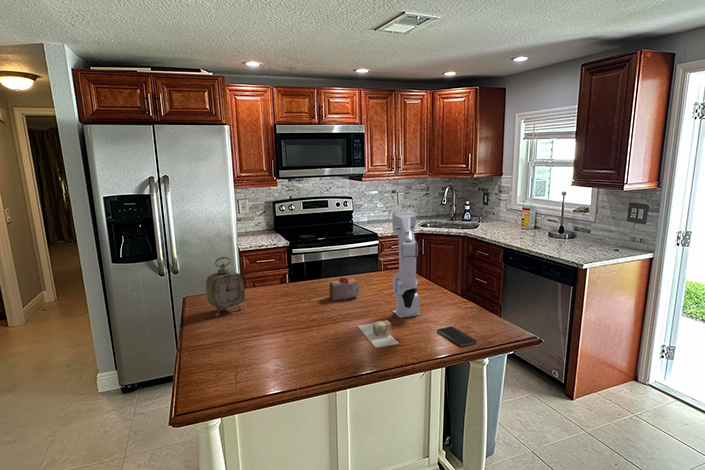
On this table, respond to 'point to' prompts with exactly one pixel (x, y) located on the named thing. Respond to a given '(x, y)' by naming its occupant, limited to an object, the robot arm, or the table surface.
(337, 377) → the table surface
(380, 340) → the mat
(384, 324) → the tan and green sponge
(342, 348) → the table surface
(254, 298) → the table surface
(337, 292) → the grey carrying case
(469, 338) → the phone
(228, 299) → the tabletop clock
